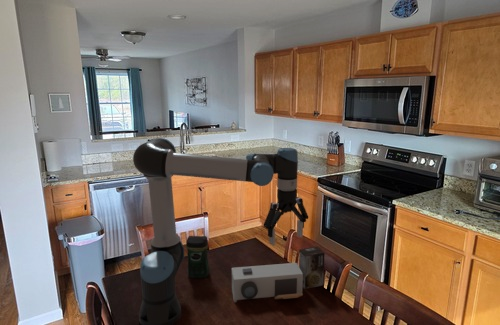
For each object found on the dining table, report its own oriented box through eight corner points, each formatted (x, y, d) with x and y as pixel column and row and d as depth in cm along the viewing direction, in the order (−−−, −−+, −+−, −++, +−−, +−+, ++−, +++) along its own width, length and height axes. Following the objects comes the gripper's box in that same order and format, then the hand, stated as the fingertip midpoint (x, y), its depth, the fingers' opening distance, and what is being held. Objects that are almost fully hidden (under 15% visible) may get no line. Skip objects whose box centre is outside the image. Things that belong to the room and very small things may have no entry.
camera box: (234, 306, 130) (234, 280, 128) (231, 289, 141) (231, 265, 138) (303, 299, 134) (304, 274, 132) (295, 283, 145) (296, 260, 143)
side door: (274, 301, 133) (278, 299, 126) (274, 297, 133) (278, 295, 126) (298, 299, 134) (303, 296, 127) (297, 295, 135) (302, 292, 128)
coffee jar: (210, 270, 156) (209, 233, 152) (207, 279, 148) (206, 241, 144) (190, 269, 157) (188, 232, 153) (185, 278, 149) (184, 240, 145)
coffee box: (316, 279, 148) (317, 245, 145) (323, 287, 142) (325, 252, 139) (297, 283, 145) (298, 248, 142) (304, 291, 139) (305, 255, 136)
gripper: (265, 196, 118) (265, 251, 122) (318, 186, 130) (316, 236, 135) (254, 191, 124) (254, 243, 129) (305, 181, 137) (304, 230, 141)
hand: (286, 240), depth 132 cm, fingers open, 13 cm apart
